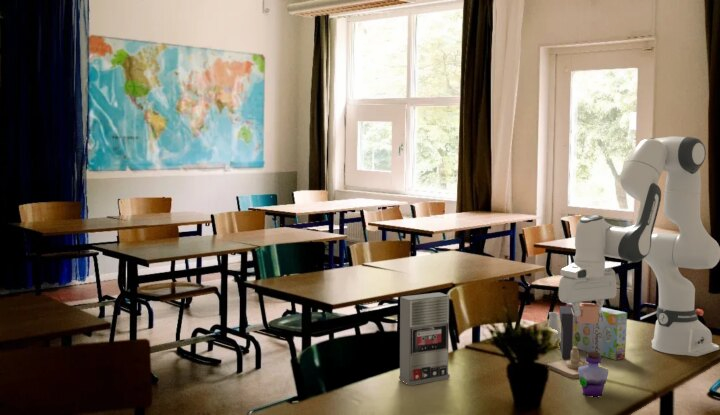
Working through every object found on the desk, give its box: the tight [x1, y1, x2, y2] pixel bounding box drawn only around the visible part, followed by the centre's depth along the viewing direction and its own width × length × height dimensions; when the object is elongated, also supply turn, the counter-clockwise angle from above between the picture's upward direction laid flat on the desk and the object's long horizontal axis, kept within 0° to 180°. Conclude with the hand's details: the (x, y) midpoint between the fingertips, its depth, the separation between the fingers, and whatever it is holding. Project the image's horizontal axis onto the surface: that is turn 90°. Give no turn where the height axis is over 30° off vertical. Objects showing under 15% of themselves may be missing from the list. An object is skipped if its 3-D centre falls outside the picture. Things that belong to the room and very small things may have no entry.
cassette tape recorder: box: [398, 292, 451, 386], centre depth 223 cm, size 14×6×25 cm, turn 117°
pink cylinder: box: [577, 302, 599, 324], centre depth 230 cm, size 6×6×5 cm
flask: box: [547, 311, 561, 344], centre depth 266 cm, size 7×7×10 cm
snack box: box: [565, 303, 628, 361], centre depth 254 cm, size 21×6×15 cm, turn 35°
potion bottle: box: [578, 351, 609, 398], centre depth 212 cm, size 9×9×12 cm
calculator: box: [559, 305, 575, 360], centre depth 250 cm, size 11×4×15 cm, turn 168°
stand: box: [545, 347, 588, 380], centre depth 234 cm, size 12×12×7 cm
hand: (587, 315), depth 230 cm, fingers closed on pink cylinder, 6 cm apart
